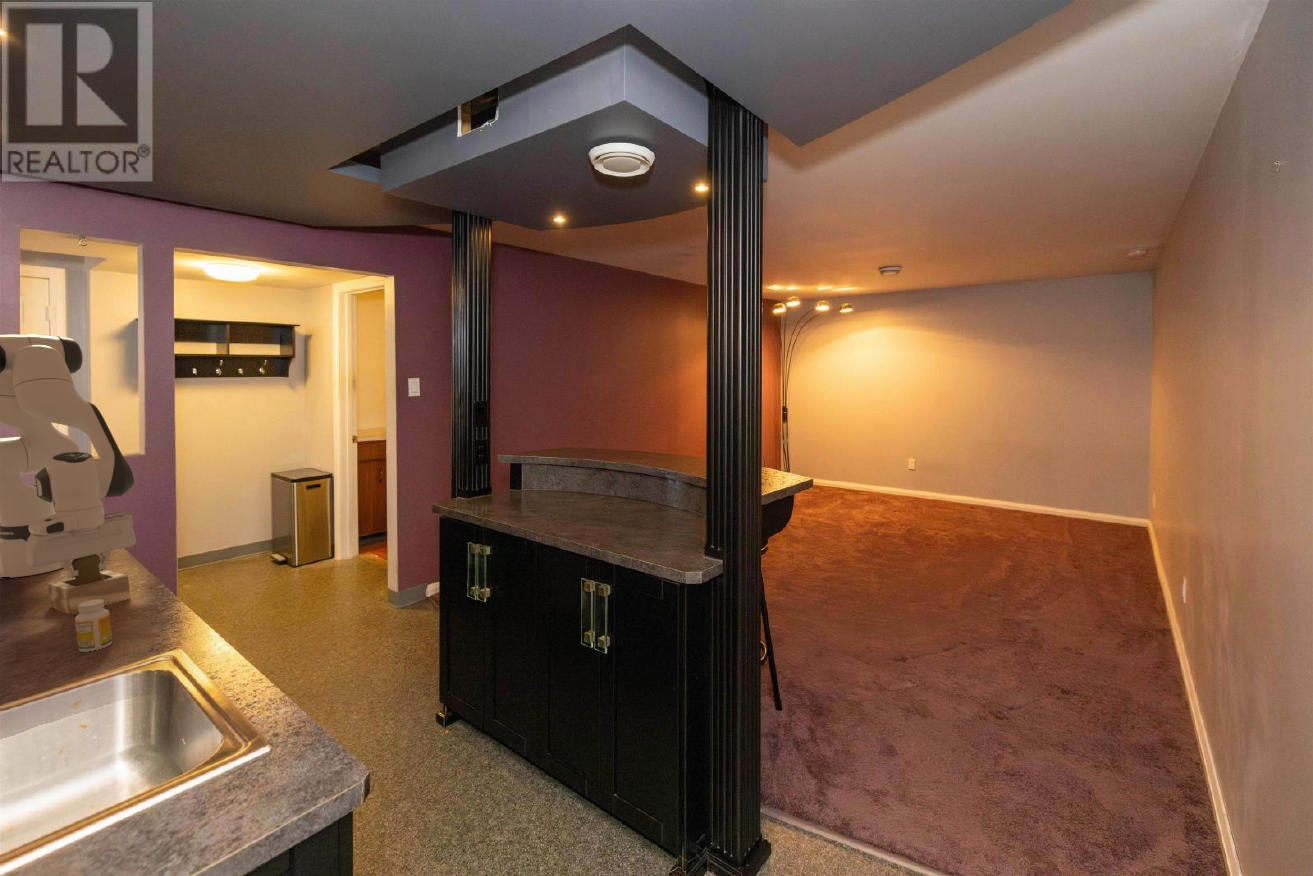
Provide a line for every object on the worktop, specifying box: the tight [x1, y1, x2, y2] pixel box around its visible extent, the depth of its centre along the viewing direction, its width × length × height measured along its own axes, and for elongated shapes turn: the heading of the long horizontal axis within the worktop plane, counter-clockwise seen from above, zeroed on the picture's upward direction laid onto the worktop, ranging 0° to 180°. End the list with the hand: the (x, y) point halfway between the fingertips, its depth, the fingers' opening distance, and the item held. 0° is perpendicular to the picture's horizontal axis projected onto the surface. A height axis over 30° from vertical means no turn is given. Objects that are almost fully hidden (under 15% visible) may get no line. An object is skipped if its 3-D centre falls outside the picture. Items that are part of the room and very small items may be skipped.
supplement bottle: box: [74, 599, 113, 653], centre depth 129 cm, size 5×5×10 cm
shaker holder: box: [47, 569, 131, 616], centre depth 154 cm, size 11×11×6 cm
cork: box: [71, 554, 102, 587], centre depth 154 cm, size 6×6×11 cm
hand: (87, 573), depth 153 cm, fingers closed on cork, 4 cm apart
